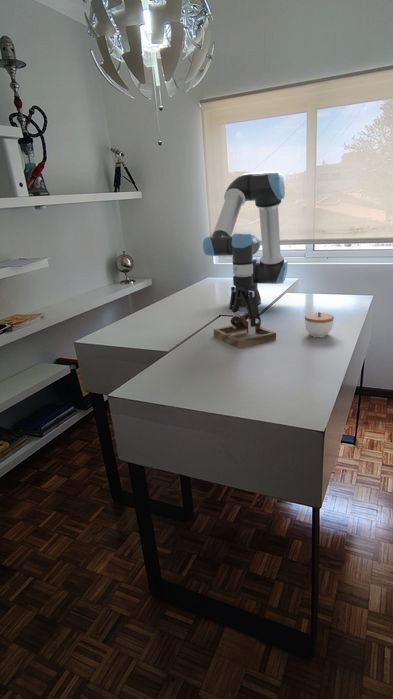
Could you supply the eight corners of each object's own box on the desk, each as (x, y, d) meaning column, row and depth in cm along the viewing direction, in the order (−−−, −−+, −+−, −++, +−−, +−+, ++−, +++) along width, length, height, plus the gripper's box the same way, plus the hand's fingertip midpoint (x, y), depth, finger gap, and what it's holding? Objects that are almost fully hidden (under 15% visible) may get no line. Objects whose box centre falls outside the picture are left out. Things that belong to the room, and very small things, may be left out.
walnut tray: (213, 336, 171) (213, 329, 170) (248, 328, 178) (248, 322, 177) (239, 348, 155) (239, 341, 154) (276, 339, 162) (276, 332, 161)
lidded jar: (334, 339, 159) (335, 315, 156) (305, 339, 161) (305, 315, 158) (331, 331, 169) (332, 308, 165) (303, 330, 171) (304, 308, 168)
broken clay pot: (255, 326, 173) (262, 312, 167) (257, 342, 166) (264, 328, 160) (227, 321, 171) (233, 306, 165) (228, 337, 165) (233, 322, 159)
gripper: (219, 272, 166) (221, 326, 174) (251, 280, 147) (252, 340, 155) (235, 270, 169) (236, 322, 177) (269, 277, 150) (269, 336, 158)
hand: (244, 330), depth 166 cm, fingers closed on broken clay pot, 10 cm apart
